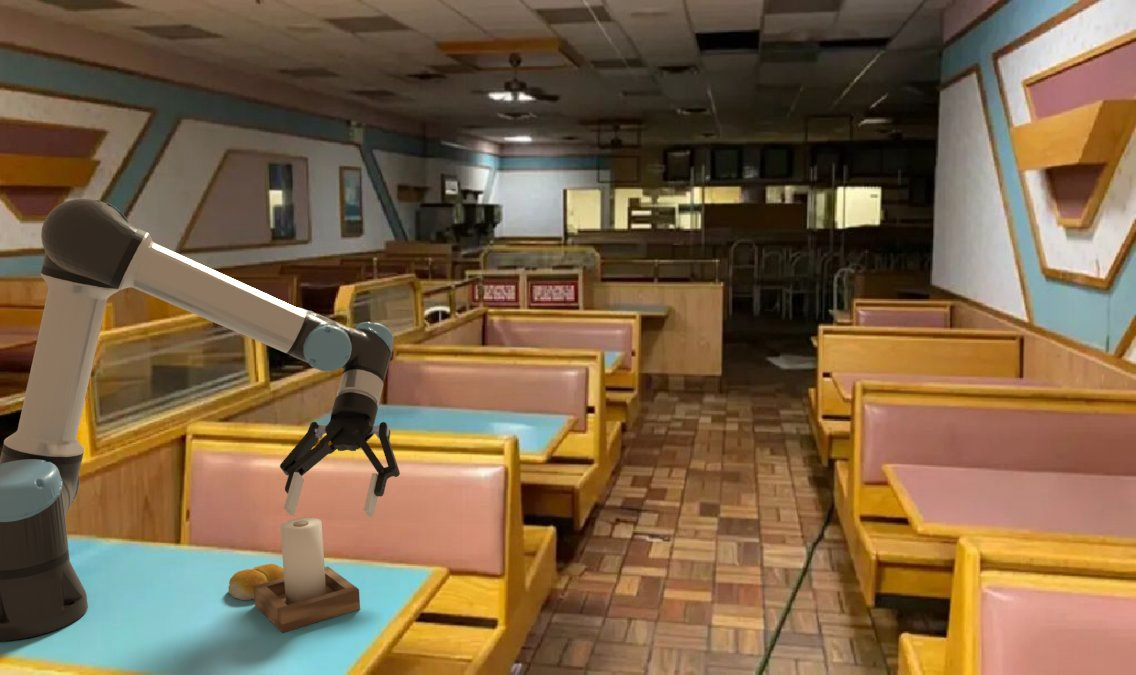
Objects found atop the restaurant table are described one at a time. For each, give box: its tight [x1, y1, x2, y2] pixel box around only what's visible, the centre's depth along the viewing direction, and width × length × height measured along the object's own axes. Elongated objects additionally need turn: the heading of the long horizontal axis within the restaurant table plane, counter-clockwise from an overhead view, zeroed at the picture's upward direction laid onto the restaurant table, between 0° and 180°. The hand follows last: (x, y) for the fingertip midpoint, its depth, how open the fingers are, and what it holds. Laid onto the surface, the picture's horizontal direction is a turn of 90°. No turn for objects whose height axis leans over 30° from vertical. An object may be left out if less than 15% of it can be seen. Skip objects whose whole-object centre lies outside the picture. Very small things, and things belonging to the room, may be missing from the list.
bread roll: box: [227, 563, 284, 601], centre depth 150 cm, size 8×9×4 cm
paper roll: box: [279, 517, 326, 605], centre depth 141 cm, size 6×6×12 cm
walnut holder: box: [254, 565, 361, 633], centre depth 142 cm, size 12×12×3 cm
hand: (328, 512), depth 150 cm, fingers open, 13 cm apart
